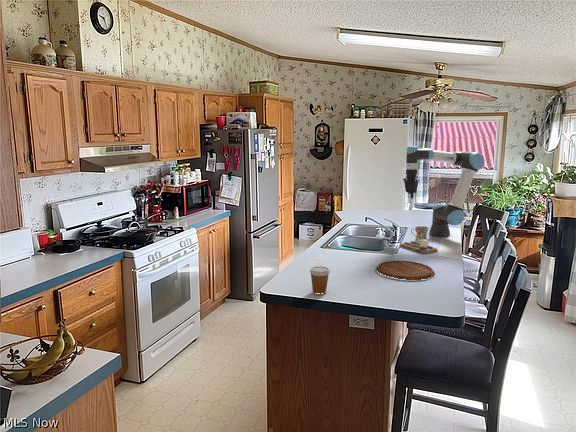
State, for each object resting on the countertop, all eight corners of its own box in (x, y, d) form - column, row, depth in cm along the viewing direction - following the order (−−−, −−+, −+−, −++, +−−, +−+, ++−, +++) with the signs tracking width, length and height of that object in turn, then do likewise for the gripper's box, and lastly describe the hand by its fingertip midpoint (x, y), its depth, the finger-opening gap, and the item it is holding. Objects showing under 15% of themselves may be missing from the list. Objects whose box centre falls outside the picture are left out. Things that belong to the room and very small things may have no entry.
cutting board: (402, 285, 233) (402, 280, 232) (364, 268, 260) (364, 264, 260) (447, 276, 247) (448, 272, 247) (407, 261, 275) (407, 257, 274)
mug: (429, 241, 323) (430, 227, 321) (426, 244, 315) (427, 229, 313) (412, 239, 329) (413, 225, 327) (408, 242, 321) (409, 227, 319)
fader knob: (419, 247, 298) (420, 239, 297) (424, 246, 300) (424, 238, 299) (423, 248, 296) (423, 240, 295) (427, 247, 298) (428, 239, 297)
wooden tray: (399, 246, 309) (399, 241, 309) (412, 244, 315) (413, 239, 314) (423, 254, 290) (424, 249, 290) (437, 251, 296) (437, 247, 295)
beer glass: (308, 289, 225) (308, 266, 223) (327, 289, 226) (327, 265, 223) (310, 296, 215) (311, 272, 213) (330, 295, 216) (331, 271, 214)
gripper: (400, 168, 317) (399, 202, 322) (415, 169, 306) (413, 204, 311) (408, 167, 321) (407, 201, 325) (422, 169, 310) (421, 203, 315)
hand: (410, 202), depth 318 cm, fingers closed
